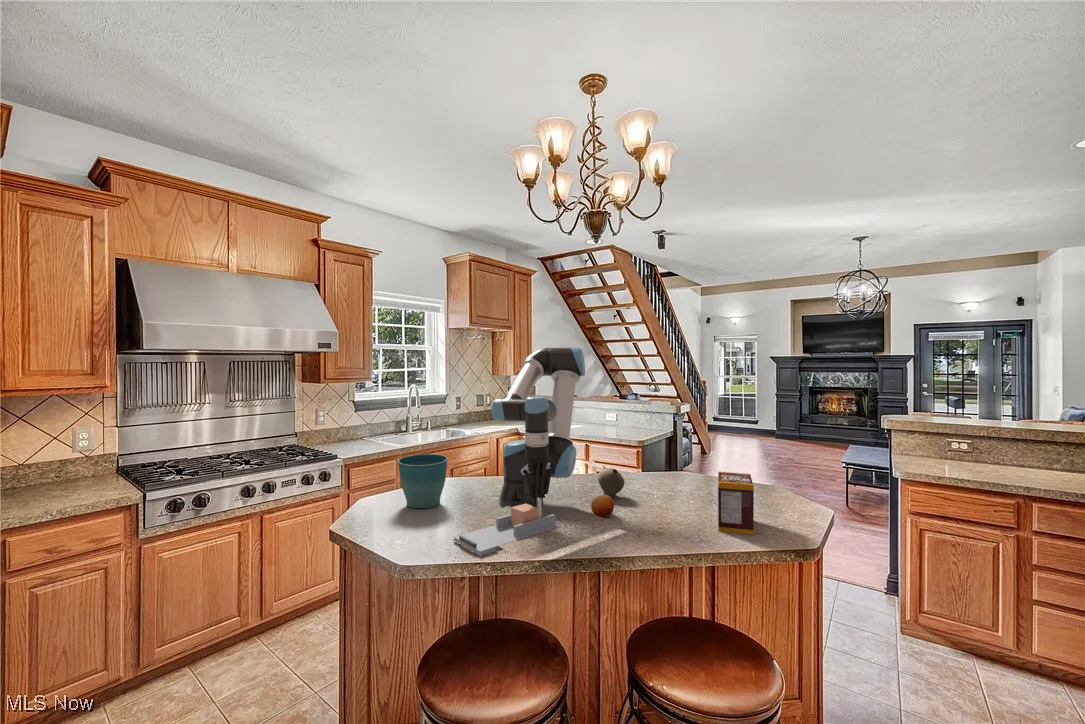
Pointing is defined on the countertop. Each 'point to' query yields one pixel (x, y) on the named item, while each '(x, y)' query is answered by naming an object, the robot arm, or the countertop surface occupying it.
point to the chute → (503, 534)
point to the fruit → (602, 506)
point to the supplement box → (735, 503)
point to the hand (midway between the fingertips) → (537, 517)
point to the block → (523, 514)
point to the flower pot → (423, 479)
